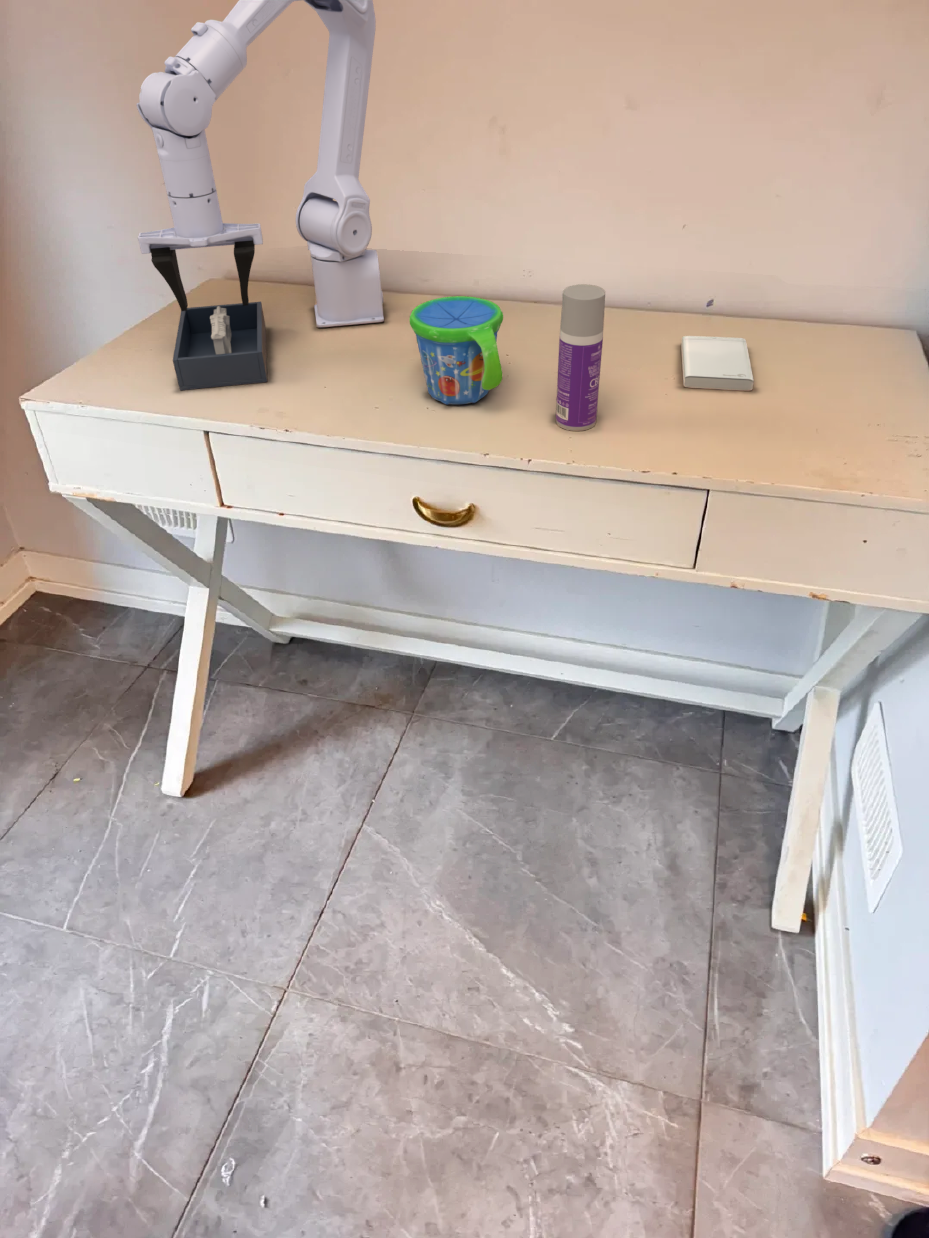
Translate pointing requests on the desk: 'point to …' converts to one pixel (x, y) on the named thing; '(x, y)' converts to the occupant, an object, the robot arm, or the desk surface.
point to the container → (579, 356)
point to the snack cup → (458, 347)
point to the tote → (215, 370)
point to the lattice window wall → (221, 331)
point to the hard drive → (716, 363)
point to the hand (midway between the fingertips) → (215, 305)
